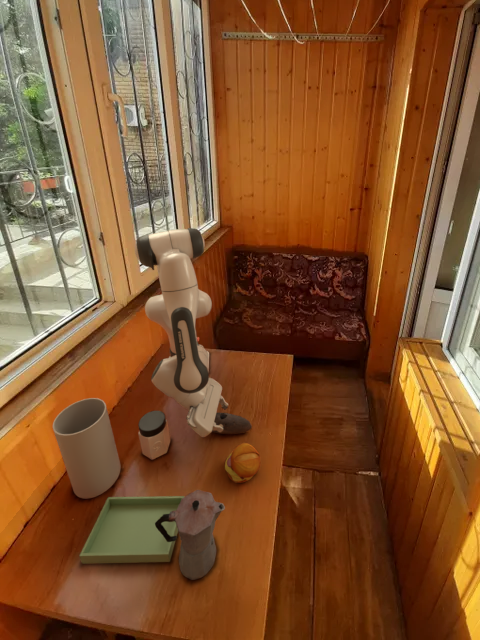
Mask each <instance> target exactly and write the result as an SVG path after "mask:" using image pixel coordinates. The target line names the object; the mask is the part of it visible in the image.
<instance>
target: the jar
mask: <svg viewBox="0 0 480 640" xmlns="http://www.w3.org/2000/svg"><path fill="white" fill-rule="evenodd" d="M137 425H138V433H137V434H138V440H139V444H140V449H141V454H142V455H143V456H145V457H147V458H148V459H150V460H152V461H153V460H155V459H156V458H159V457H161V456H163V455H165V454H167V453H168V450H169V447H170V444H171V441H172V440H171V434H170V428H169V422H168V419H166V414H165V412H163V411H162V410H151V411H148V412H146V413H145V414H144V415H142V417H141V418H140V419H139V420H138V424H137Z"/></svg>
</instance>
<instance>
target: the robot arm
mask: <svg viewBox="0 0 480 640" xmlns="http://www.w3.org/2000/svg"><path fill="white" fill-rule="evenodd" d="M205 244H206V243H205V239H204V236H203V235H202V233H201V231H200V230H199V229H197V228H194V227H187V228H177V229H169V230H165V231H164V230H163V231H158V232H154V233H150V234H148V233H147V234H143V235H141V236H139V237H137V238H136V240H135V245H134V254H135V256H136V259H137V260H138V261H139V263H140V264H141V265H142V266H144V267H147V268H151V270H152V271H155V266H156V270H157V274H158V280H159V284H160V289H161V294H157V295H154V296H151V297H149V298H148V299H147V301H146V303H145V306H144V311H145V315H146V317H147V318H148V319H149V320H150V321H151V322H154V323H156V324H157V325H159V326H160V327H161V328H162V329H163V330H164V331H165V333H166V334H167V337H168V341H169V342H168V343H169V356H168V357H167V358H163V359H161V360H160V361H159V362H158V364H157V365H156V366H155V368H154V370H153V372H152V375H151V378H150V381H151V383H152V384H153V386H155V387H156V389H157V390H159V391H160V392H161V393H163V394H164V395H165V396H166V397H168V398H172V399H173V400H175V402H176V403H177V404H178V405H179V406H181V407H183V408H184V409H185V410H187V411H188V412H187V414H186V422H187V425H188V426H189V427H190V428H191V429H192V430H193V431H194V432H195V433H196V434H197V435H198V436H200V437H201V438H205V437H207V436H209V435H210V434H211V433H213V432H212V431H214V430H217V431H218V432H222V431H223V429H224V426H223V425H222V424H219V425H216V423H215V422H214V420H215V416H216V413H217V412H218V408H219V404H220V406H221V408H222V409H223V410H227V409H228V408H229V403H228V402H226V399H225V398H224V396H223V395H222V392H223V391H222V390H223V387H222V385H221V384H220V383H219V381H216V380H215V379H214V378H212V377H210V375H209V373H210V352H209V351H208V350H207V349H206V348H205V347H204V346H203V344H199V342H200V337H199V336H197V330H196V320H197V319H199V318H203V317H206V316H208V315H209V314H210V312H211V310H212V307H213V303H212V299H211V297H210V295H209V294H208V293H207V292H205V291H202V290H201V289H199V284H198V279H197V274H196V271H195V268H194V265H193V262H192V259H196V258H199V257H201V256H202V255H203V254H204V252H205V247H206V246H205Z"/></svg>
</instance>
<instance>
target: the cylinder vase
mask: <svg viewBox="0 0 480 640" xmlns="http://www.w3.org/2000/svg"><path fill="white" fill-rule="evenodd" d="M107 407H108V406H107V404H106V402H105V401H104V400H103V399H101V398H98V397H89V398H84V399H80V400H78V401H75V402H73V403H72V404H69V405H68V406H67V407H65V408H64V409H63V410H61V411H60V412H59V413H58V414H57V415H56V417H55V418H54V420H53V422H52V430H53V433H54V437H55V440H56V442H57V445H58V449H59V451H60V454H61V457H62V460H63V463H64V466H65V471H66V472H67V476H68V479H69V482H70V484H71V489H72V490H73V493H74V495H75V496H76V497H78V498H80V499H83V500H84V499H87V500H88V499H92V498H96V497H98V496H100V495H102V494H104V493H105V492H107V491H108V490H109V489H110V488H111V487H112V486H113V485H114V484H115V483H116V482H117V480H118V478H119V476H120V475H121V474H120V473H121V468H122V467H121V466H122V465H121V460H120V457H119V452H118V448H117V445H116V440H115V437H114V432H113V428H112V425H111V420H110V416H109V411H108V408H107Z"/></svg>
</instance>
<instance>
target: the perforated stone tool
mask: <svg viewBox="0 0 480 640" xmlns="http://www.w3.org/2000/svg"><path fill="white" fill-rule="evenodd" d="M214 422H215V423H216V425H219V424H222V425H223V426H224V429H223V431H222V432H218V431H217V430H214V431H212V432H211V433H216V434H222V435H237V434H245V433H248V432H249V431H250V430H251V429H252V427H253V426H252V424H251V422H250V421H249V420H248V419H247V418H245V417H243V416H241V415H237V414H233V413H229V412H218V411H217V412H216V416H215V420H214Z"/></svg>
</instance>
